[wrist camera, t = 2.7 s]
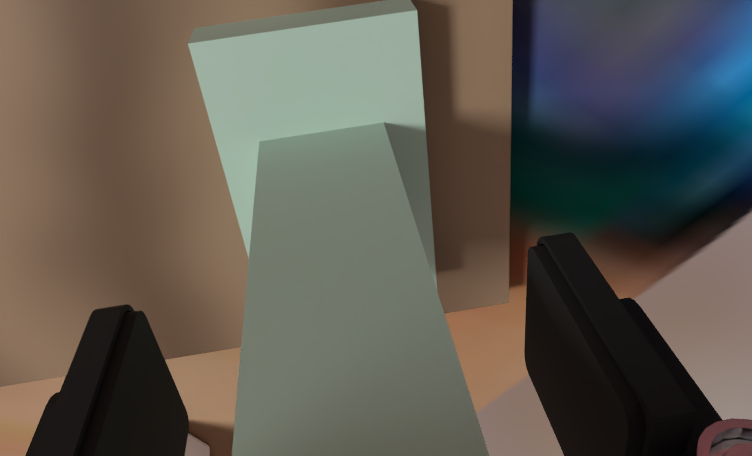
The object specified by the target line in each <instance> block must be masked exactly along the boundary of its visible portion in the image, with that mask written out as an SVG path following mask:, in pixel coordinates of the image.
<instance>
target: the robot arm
mask: <svg viewBox="0 0 752 456" xmlns="http://www.w3.org/2000/svg"><path fill="white" fill-rule="evenodd" d="M525 362H526V367H527V370H528V373H529V376H530V378H531V380H532V382H533V385H534V387H535V389H536V392H537V394H538V396H539V398H540V401H541V403H542V405H543V408H544V410H545V412H546V415H547V417H548V419H549V421H550V424H551V426H552V428H553V431H554V433H555V435H556V437H557V440H558V442H559V444H560V447H561V449H562V451H563V454H564V456H752V420H748V419H727V420H722V419H721V418H720V416H719V415H718V413H717V412H716V411H715V409H714V408H713V407H712V405H711V404H710V402H709V401H708V400H707V398H706V397H705V395H704V394H703V393H702V391H701V390H700V389H699V387H698V386H697V384H696V383H695V382H694V380H693V379H692V378H691V376H690V375H689V374H688V372H687V371H686V369H685V368H684V366H683V365H682V364H681V362H680V361H679V360H678V358H677V357H676V355H675V354H674V353H673V351H672V350H671V348H670V347H669V346H668V344H667V343H666V342H665V340H664V339H663V337H662V336H661V335H660V333H659V332H658V331H657V329H656V328H655V326H654V325H653V324H652V322H651V321H650V319H649V318H648V317H647V315H646V314H645V313H644V311H643V310H642V308H641V307H640V306H639V305H638V304H637V303H636V302H635V300H633V299H631V298H624V299H619V298H618V297H617V296H616V294H615V293H614V291H613V290H612V288H611V287H610V285H609V284H608V282H607V281H606V280H605V278H604V277H603V275H602V274H601V272H600V271H599V269H598V268H597V267H596V265H595V264H594V262H593V261H592V259H591V258H590V256H589V255H588V254H587V252H586V251H585V249H584V248H583V246H582V245H581V243H580V242H579V241H578V239H577V238H576V236H575V235H574V234H573V233H564V234H558V235H552V236H546V237H541V238H539V240H538V242H537V246H535V247H530V248H529V250H528V265H527V295H526V324H525ZM188 430H189V422H188V415H187V411H186V409H185V406H184V404H183V402H182V399H181V397H180V395H179V392H178V390H177V388H176V385H175V383H174V380H173V378H172V376H171V373H170V371H169V369H168V366H167V364H166V362H165V359H164V357H163V355H162V352H161V350H160V348H159V345H158V343H157V341H156V338H155V336H154V334H153V331H152V329H151V327H150V324H149V322H148V319H147V317H146V315H145V313H144V312H143V311H134V309H133V308H132V307H131V306H130V305H128V304H125V305H119V306H113V307H106V308H100V309H95V310H94V311H93V312H92V313H91V315H90V317H89V320H88V322H87V325H86V327H85V330H84V332H83V335H82V338H81V340H80V343H79V345H78V348H77V350H76V353H75V355H74V358H73V360H72V363H71V365H70V368H69V370H68V373H67V375H66V378H65V380H64V383H63V385H62V388H61V390H60V392H59V393H55V394H54V395H53V396H52V397H51V398H50V400H49V401H48V403H47V405H46V407H45V409H44V412H43V414H42V417H41V419H40V422H39V424H38V426H37V429H36V431H35V434H34V436H33V439H32V441H31V443H30V446H29V448H28V451H27V453H26V456H185V450H186V444H187V437H188Z"/></svg>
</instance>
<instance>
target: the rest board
mask: <svg viewBox="0 0 752 456" xmlns="http://www.w3.org/2000/svg"><path fill="white" fill-rule="evenodd" d="M377 1H384V0H0V387H1V386H8V385H14V384H20V383H26V382H32V381H38V380H44V379H50V378H56V377H62V376H66V375H67V373H68V370H69V368H70V365H71V363H72V360H73V358H74V355H75V353H76V350H77V348H78V345H79V343H80V340H81V338H82V335H83V332H84V330H85V327H86V325H87V322H88V320H89V317H90V315H91V313H92V312H93V311H94V310H95V309H100V308H106V307H113V306H119V305H125V304H128V305H130V306H131V307H132V308H133V309H134V311H143V312H144V313H145V315H146V317H147V319H148V322H149V324H150V327H151V329H152V331H153V334H154V336H155V338H156V341H157V343H158V345H159V348H160V350H161V352H162V355H163V357H164V359H171V358H177V357H183V356H189V355H195V354H201V353H207V352H214V351H220V350H226V349H232V348H238V347H241V343H242V331H243V320H244V309H245V297H246V286H247V275H248V263H249V258H248V255H247V251H246V248H245V244H244V240H243V237H242V233H241V230H240V226H239V223H238V219H237V216H236V212H235V209H234V205H233V202H232V198H231V194H230V191H229V187H228V184H227V180H226V177H225V173H224V170H223V166H222V163H221V159H220V155H219V152H218V148H217V145H216V141H215V138H214V134H213V131H212V127H211V124H210V120H209V117H208V113H207V109H206V106H205V102H204V99H203V95H202V92H201V88H200V85H199V81H198V78H197V74H196V71H195V67H194V63H193V60H192V56H191V53H190V49H189V46H188V42H189V40H190V38H191V35H192V33H193V31H194V29H195V28H198V27H205V26H212V25H219V24H226V23H233V22H240V21H246V20H253V19H260V18H267V17H274V16H281V15H288V14H295V13H301V12H308V11H315V10H322V9H329V8H336V7H343V6H350V5H356V4H363V3H370V2H377ZM411 2H412V3H413V5H414V6H415V8H416V9H417V15H418V29H419V43H420V57H421V71H422V85H423V99H424V113H425V127H426V141H427V155H428V169H429V183H430V197H431V211H432V225H433V239H434V253H435V267H436V281H437V292H438V295H439V299H440V302H441V305H442V308H443V311H444V313H450V312H456V311H462V310H468V309H474V308H480V307H486V306H492V305H498V304H504V303H509V249H510V171H511V92H512V14H513V0H411Z"/></svg>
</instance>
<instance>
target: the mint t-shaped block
mask: <svg viewBox="0 0 752 456" xmlns="http://www.w3.org/2000/svg"><path fill="white" fill-rule="evenodd" d="M188 46H189V49H190V53H191V56H192V60H193V63H194V67H195V71H196V74H197V78H198V81H199V85H200V88H201V92H202V95H203V99H204V102H205V106H206V109H207V113H208V117H209V120H210V124H211V127H212V131H213V134H214V138H215V141H216V145H217V148H218V152H219V155H220V159H221V163H222V166H223V170H224V173H225V177H226V180H227V184H228V187H229V191H230V194H231V198H232V202H233V205H234V209H235V212H236V216H237V219H238V223H239V226H240V230H241V233H242V237H243V240H244V244H245V248H246V251H247V255H248V258H249V263H248V275H247V286H246V297H245V309H244V320H243V331H242V343H241V354H240V366H239V377H238V388H237V400H236V411H235V422H234V434H233V445H232V456H489V453H488V450H487V447H486V444H485V441H484V437H483V434H482V431H481V428H480V425H479V422H478V419H477V415H476V412H475V409H474V406H473V403H472V400H471V396H470V393H469V390H468V387H467V384H466V381H465V378H464V374H463V371H462V368H461V365H460V362H459V359H458V355H457V352H456V349H455V346H454V343H453V340H452V336H451V333H450V330H449V327H448V324H447V321H446V318H445V314H444V311H443V308H442V305H441V302H440V299H439V295H438V292H437V281H436V267H435V253H434V239H433V225H432V211H431V197H430V183H429V169H428V155H427V141H426V127H425V113H424V99H423V85H422V71H421V57H420V43H419V29H418V15H417V9H416V8H415V6H414V5H413V3H412V2H411V0H384V1H377V2H370V3H363V4H356V5H350V6H343V7H336V8H329V9H322V10H315V11H308V12H301V13H295V14H288V15H281V16H274V17H267V18H260V19H253V20H246V21H240V22H233V23H226V24H219V25H212V26H205V27H198V28H195V29H194V31H193V33H192V35H191V38H190V40H189V42H188Z"/></svg>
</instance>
